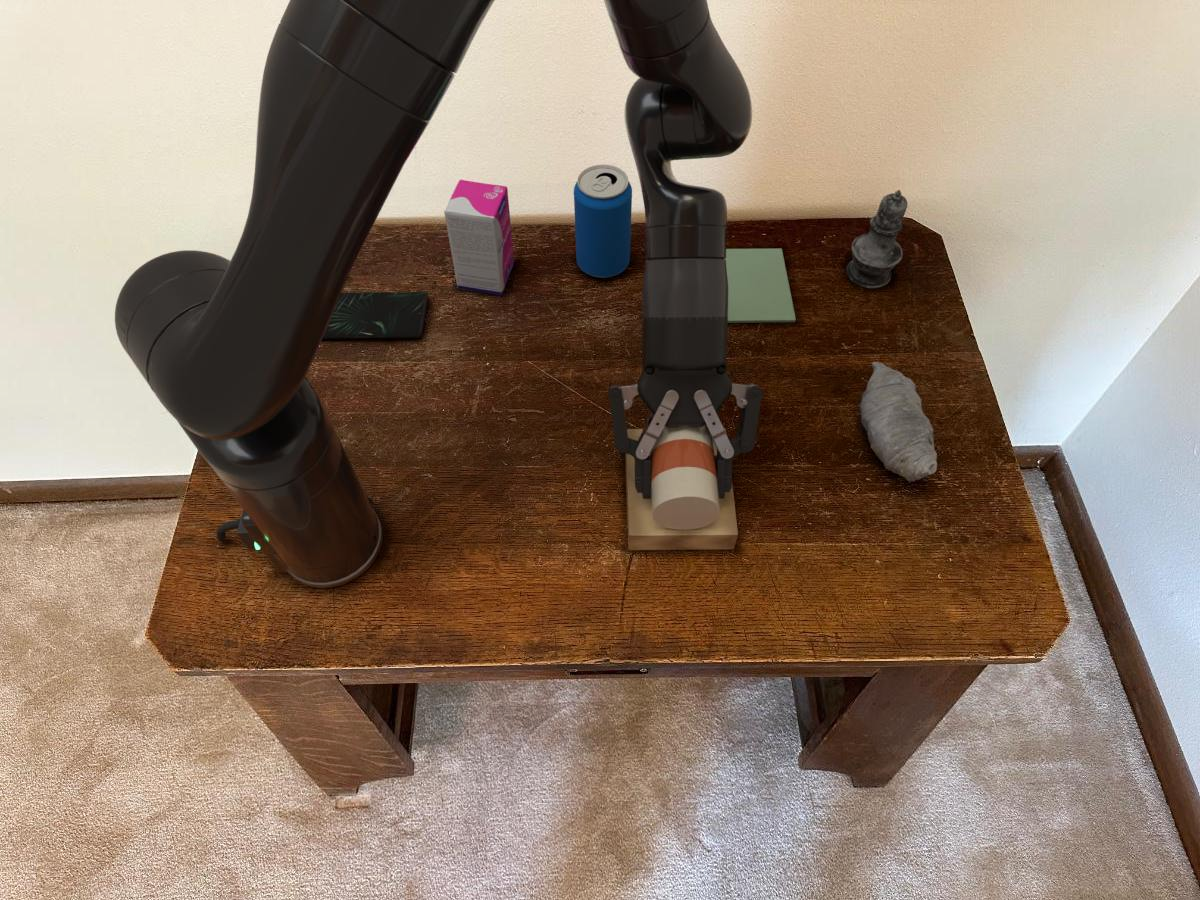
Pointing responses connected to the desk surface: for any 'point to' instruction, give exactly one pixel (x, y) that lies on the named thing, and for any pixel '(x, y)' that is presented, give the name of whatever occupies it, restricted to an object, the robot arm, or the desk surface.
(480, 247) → the supplement box
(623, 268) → the beverage can
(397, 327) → the smartphone
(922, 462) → the grey oval lump
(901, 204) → the grey tiered tall piece
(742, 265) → the mat
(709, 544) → the stand
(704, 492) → the jar
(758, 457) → the desk surface
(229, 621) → the desk surface
